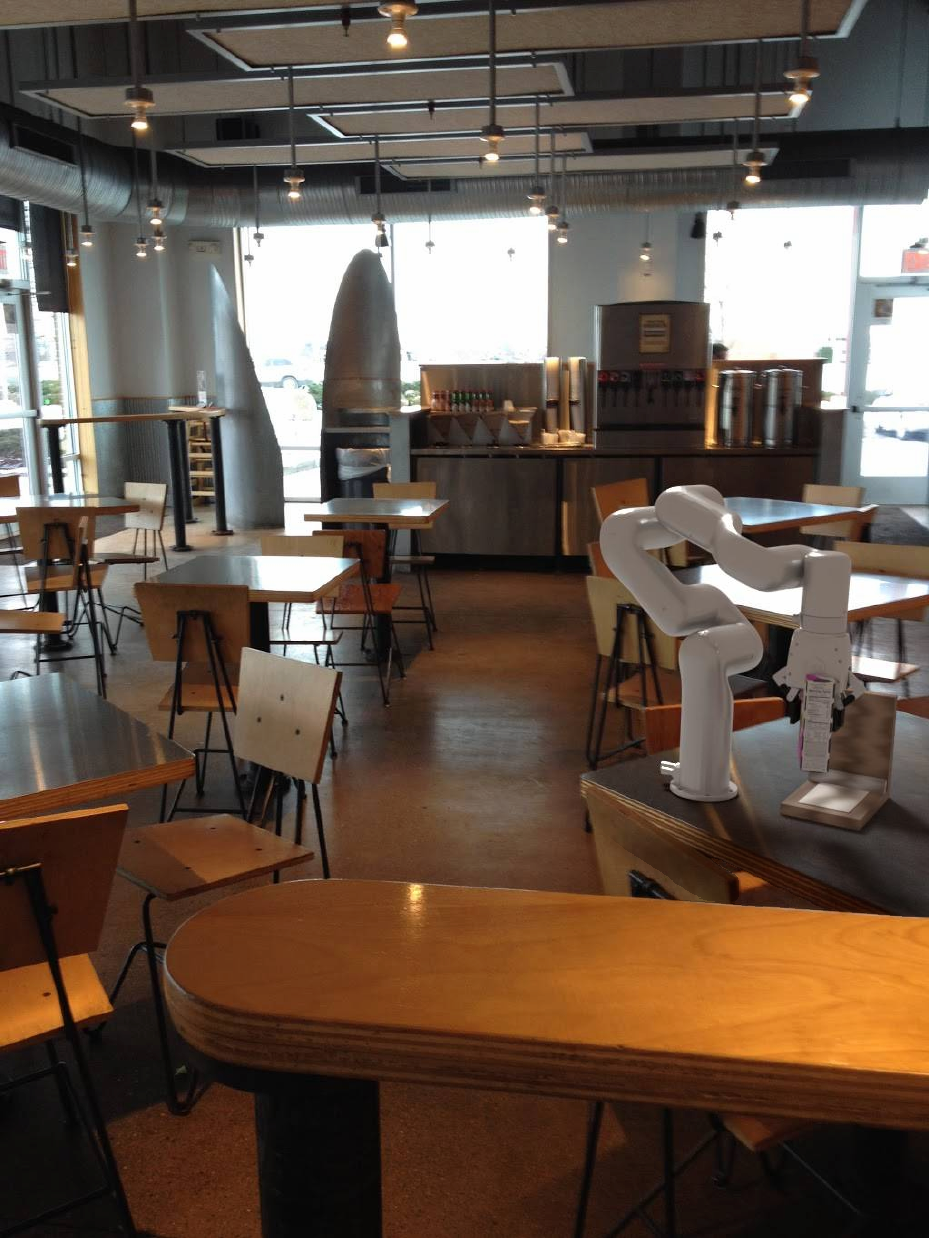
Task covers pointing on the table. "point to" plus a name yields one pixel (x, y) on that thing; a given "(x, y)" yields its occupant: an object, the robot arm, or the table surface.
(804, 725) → the candy bar box
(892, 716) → the display stand
